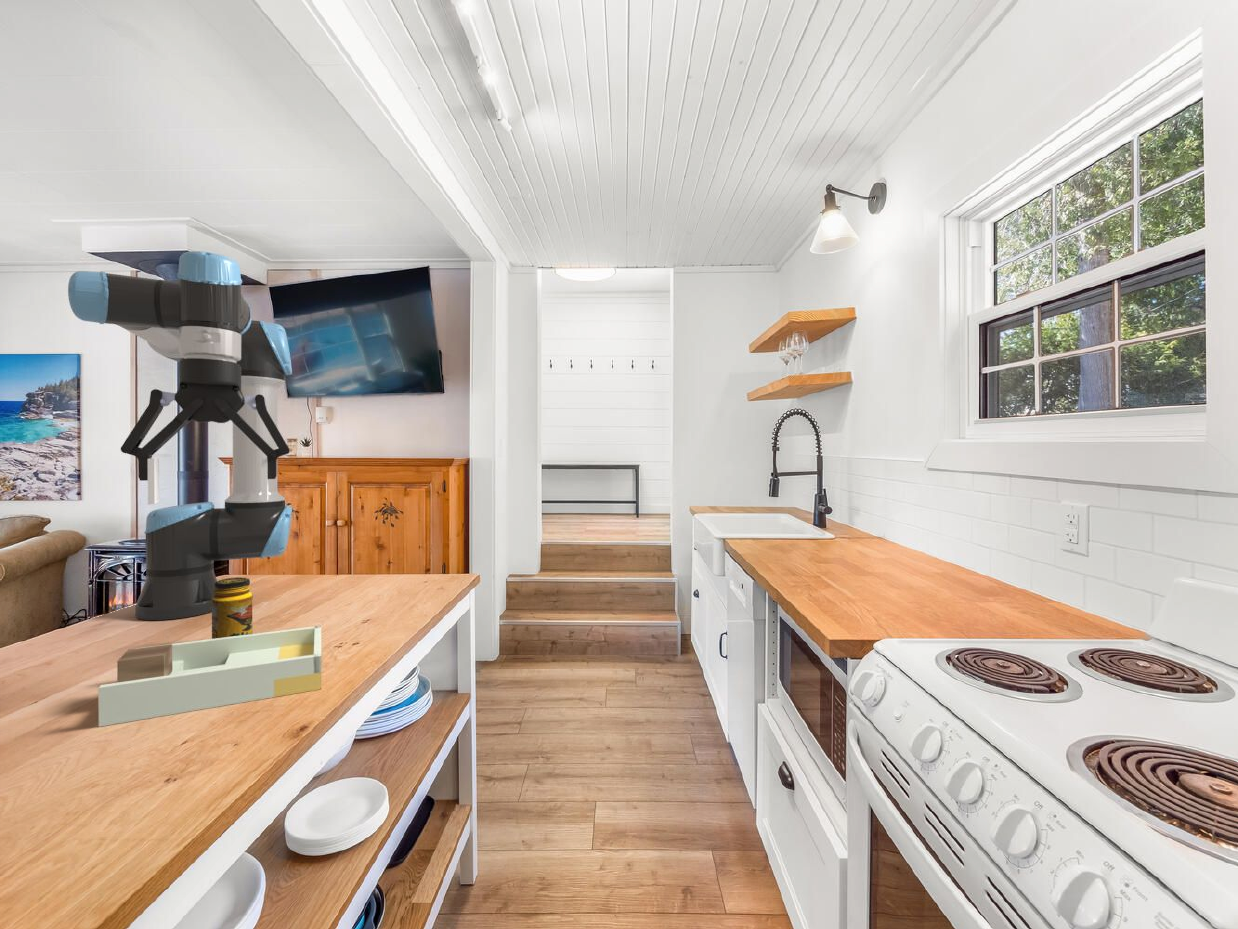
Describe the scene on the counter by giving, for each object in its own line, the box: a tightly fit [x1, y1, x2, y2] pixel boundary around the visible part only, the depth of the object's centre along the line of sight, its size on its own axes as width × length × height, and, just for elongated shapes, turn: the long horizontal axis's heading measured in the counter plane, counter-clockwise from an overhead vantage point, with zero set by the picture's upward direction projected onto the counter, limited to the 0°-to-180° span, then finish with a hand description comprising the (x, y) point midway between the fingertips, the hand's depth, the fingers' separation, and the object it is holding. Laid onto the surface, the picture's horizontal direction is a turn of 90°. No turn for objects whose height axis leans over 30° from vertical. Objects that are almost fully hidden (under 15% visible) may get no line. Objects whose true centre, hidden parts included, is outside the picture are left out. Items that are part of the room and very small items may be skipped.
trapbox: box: [97, 625, 322, 728], centre depth 84 cm, size 16×25×5 cm, turn 118°
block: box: [116, 643, 173, 683], centre depth 79 cm, size 5×5×4 cm
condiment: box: [211, 576, 254, 639], centre depth 100 cm, size 7×8×12 cm
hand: (211, 502), depth 84 cm, fingers open, 13 cm apart
